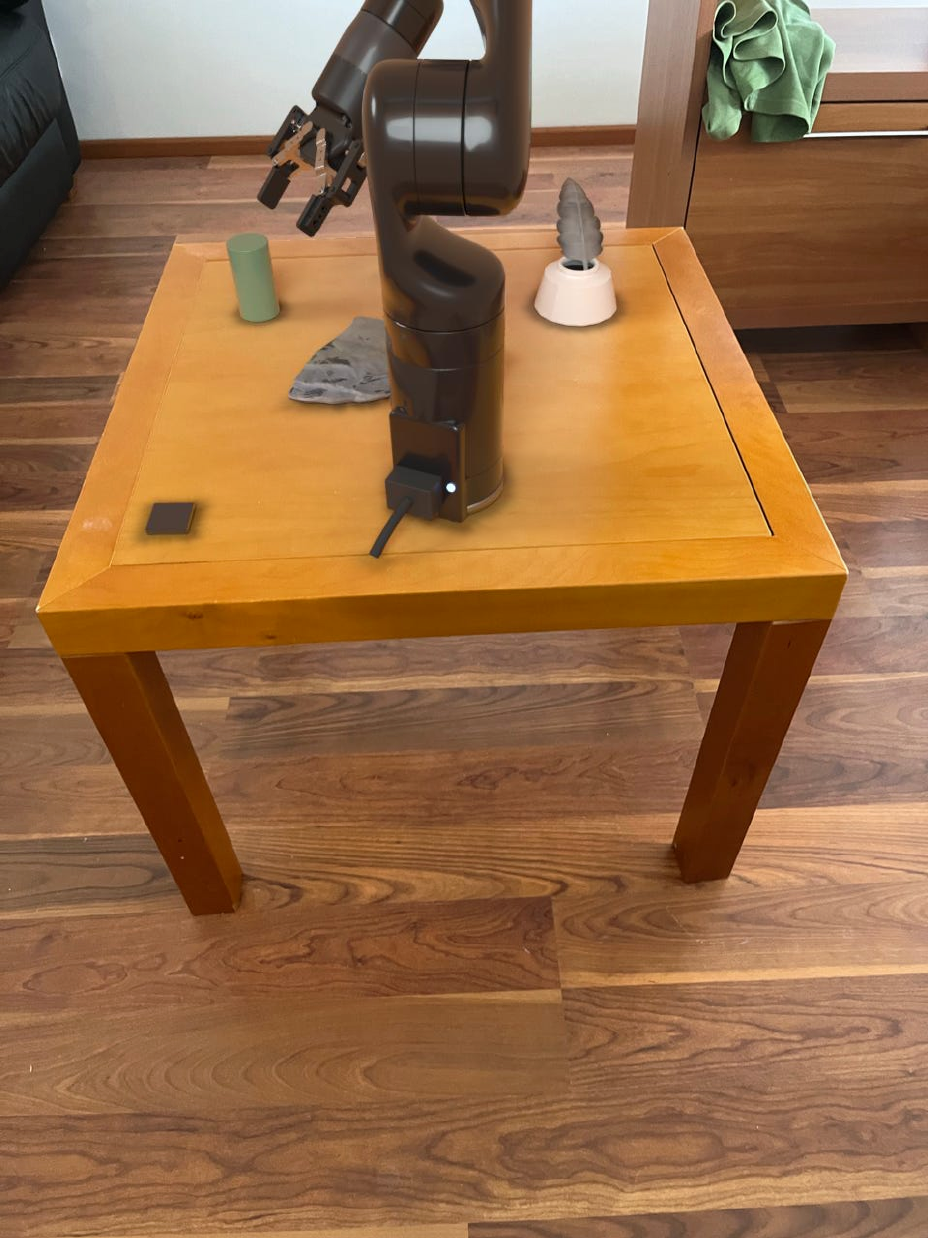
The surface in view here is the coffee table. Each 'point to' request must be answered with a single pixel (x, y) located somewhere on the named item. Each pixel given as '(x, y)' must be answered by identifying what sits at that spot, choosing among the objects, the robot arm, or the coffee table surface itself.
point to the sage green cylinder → (253, 276)
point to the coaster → (170, 518)
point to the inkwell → (576, 266)
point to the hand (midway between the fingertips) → (283, 218)
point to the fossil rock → (347, 367)
